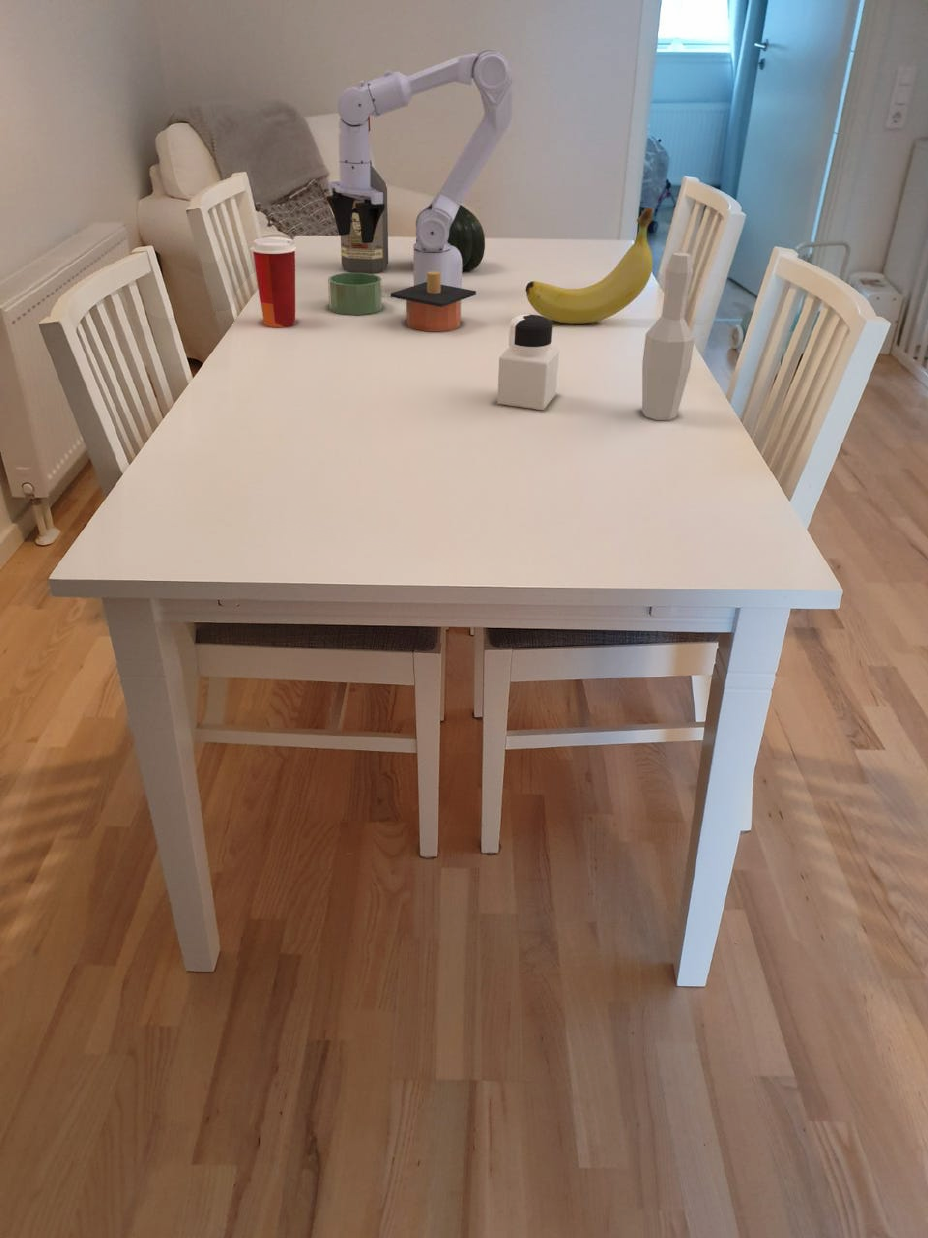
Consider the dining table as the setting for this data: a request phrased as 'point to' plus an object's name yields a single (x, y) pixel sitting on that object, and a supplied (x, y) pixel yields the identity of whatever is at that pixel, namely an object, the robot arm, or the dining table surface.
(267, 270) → the paper cup
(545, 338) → the medicine bottle
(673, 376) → the faceted bottle
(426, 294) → the dark square pegged slab
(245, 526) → the dining table surface
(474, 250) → the squash
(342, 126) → the robot arm
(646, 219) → the banana
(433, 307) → the terracotta cup
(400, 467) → the dining table surface
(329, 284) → the sage cup
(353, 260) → the liquor
